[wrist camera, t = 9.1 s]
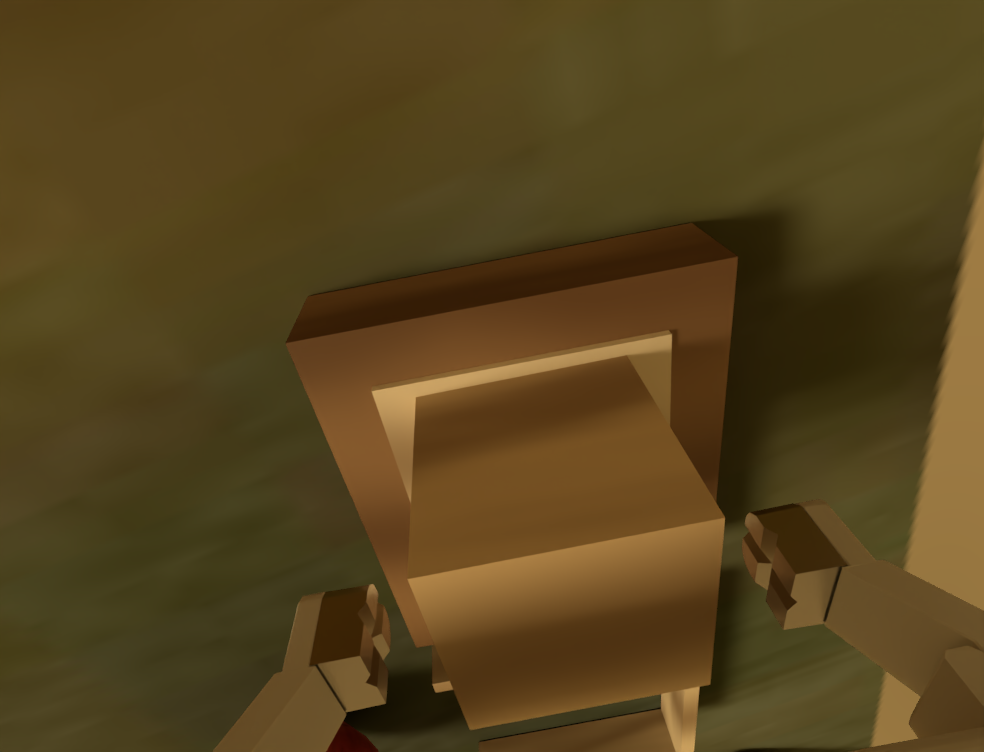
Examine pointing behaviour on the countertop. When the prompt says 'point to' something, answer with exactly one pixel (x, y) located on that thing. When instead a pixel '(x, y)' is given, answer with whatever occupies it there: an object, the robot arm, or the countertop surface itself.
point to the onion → (350, 741)
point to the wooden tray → (513, 353)
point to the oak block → (561, 544)
